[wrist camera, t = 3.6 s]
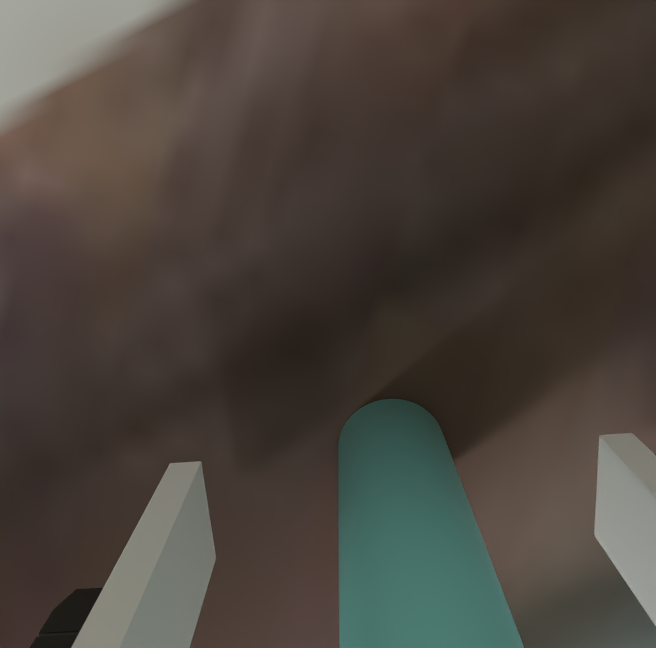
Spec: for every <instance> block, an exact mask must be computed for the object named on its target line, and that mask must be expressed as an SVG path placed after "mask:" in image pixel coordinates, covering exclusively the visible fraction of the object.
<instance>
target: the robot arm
mask: <svg viewBox="0 0 656 648" xmlns="http://www.w3.org/2000/svg"><path fill="white" fill-rule="evenodd" d="M594 536H595V537H596V539H597V540H598V542H599V543H600V545H601V546H602V547H603V549H604V550H605V552H606V553H607V555H608V556H609V558H610V559H611V561H612V562H613V564H614V565H615V567H616V568H617V570H618V571H619V573H620V574H621V576H622V577H623V579H624V580H625V582H626V583H627V584H628V586H629V587H630V589H631V590H632V592H633V593H634V595H635V596H636V598H637V599H638V601H639V602H640V604H641V605H642V607H643V608H644V610H645V611H646V613H647V614H648V616H649V617H650V619H651V620H652V622H653V623H654V624H655V626H656V455H655V454H654V453H653V452H652V451H651V450H650V449H649V448H648V447H647V446H645V445H644V444H643V443H642V442H641V441H640V440H639V439H638V438H637V437H636V436H635V435H634V434H633V433H623V434H608V435H599V452H598V472H597V492H596V512H595V532H594ZM215 560H216V554H215V547H214V541H213V535H212V528H211V522H210V515H209V509H208V502H207V496H206V489H205V483H204V476H203V470H202V463H201V461H198V462H183V463H170V464H169V466H168V468H167V470H166V472H165V474H164V475H163V477H162V479H161V481H160V483H159V485H158V487H157V488H156V490H155V492H154V494H153V496H152V498H151V500H150V502H149V503H148V505H147V507H146V509H145V511H144V513H143V515H142V517H141V518H140V520H139V522H138V524H137V526H136V528H135V530H134V531H133V533H132V535H131V537H130V539H129V541H128V543H127V545H126V546H125V548H124V550H123V552H122V554H121V556H120V558H119V559H118V561H117V563H116V565H115V567H114V569H113V571H112V573H111V574H110V576H109V578H108V580H107V582H106V584H105V586H104V587H103V588H90V589H76V590H75V591H74V592H73V593H72V594H71V595H69V596H68V597H67V598H66V599H65V600H64V601H63V602H62V603H61V604H59V605H58V606H57V607H56V608H55V609H54V610H53V611H52V613H51V615H50V616H49V618H48V620H47V621H46V623H45V624H44V626H43V628H42V629H41V631H40V633H39V637H36V639H35V641H34V642H33V644H32V645H31V647H30V648H190V645H191V641H192V638H193V635H194V631H195V628H196V624H197V621H198V618H199V614H200V611H201V608H202V604H203V601H204V597H205V594H206V591H207V587H208V584H209V581H210V577H211V574H212V570H213V567H214V564H215Z"/></svg>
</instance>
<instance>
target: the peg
mask: <svg viewBox="0 0 656 648" xmlns="http://www.w3.org/2000/svg"><path fill="white" fill-rule="evenodd" d="M338 518H339V648H524V646H523V643H522V641H521V638H520V635H519V633H518V630H517V627H516V625H515V622H514V620H513V617H512V614H511V612H510V609H509V606H508V604H507V601H506V598H505V596H504V593H503V591H502V588H501V585H500V583H499V580H498V577H497V575H496V572H495V570H494V567H493V564H492V562H491V559H490V556H489V554H488V551H487V548H486V546H485V543H484V541H483V538H482V535H481V533H480V530H479V527H478V525H477V522H476V520H475V517H474V514H473V512H472V509H471V506H470V504H469V501H468V498H467V496H466V493H465V491H464V488H463V485H462V483H461V480H460V477H459V475H458V472H457V470H456V467H455V464H454V462H453V459H452V456H451V454H450V451H449V448H448V446H447V443H446V441H445V438H444V435H443V433H442V430H441V428H440V426H439V424H438V422H437V421H436V419H435V418H434V417H433V416H432V415H431V414H430V413H429V412H428V411H427V410H426V409H424V408H423V407H421V406H419V405H418V404H416V403H413V402H410V401H407V400H403V399H382V400H378V401H374V402H372V403H369V404H367V405H365V406H363V407H361V408H360V409H359V410H357V411H356V412H355V413H354V414H353V415H351V417H350V418H349V419H348V420H347V422H346V423H345V425H344V426H343V428H342V431H341V433H340V437H339V442H338Z"/></svg>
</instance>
